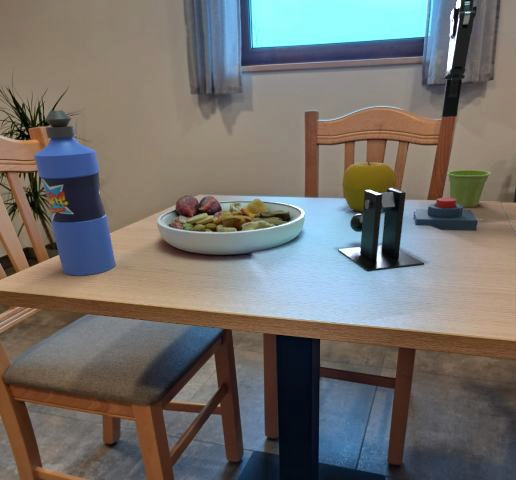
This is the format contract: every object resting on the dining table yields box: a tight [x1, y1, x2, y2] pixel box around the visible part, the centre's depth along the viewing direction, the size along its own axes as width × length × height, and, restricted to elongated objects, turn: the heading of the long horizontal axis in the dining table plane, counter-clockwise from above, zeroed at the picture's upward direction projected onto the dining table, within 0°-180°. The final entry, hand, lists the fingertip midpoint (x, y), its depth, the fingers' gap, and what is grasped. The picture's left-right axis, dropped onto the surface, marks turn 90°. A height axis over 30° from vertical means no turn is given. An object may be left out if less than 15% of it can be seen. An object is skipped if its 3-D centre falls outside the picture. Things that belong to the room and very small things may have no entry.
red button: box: [435, 197, 457, 208], centre depth 99 cm, size 4×4×2 cm
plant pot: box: [447, 169, 491, 208], centre depth 111 cm, size 9×9×9 cm
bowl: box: [156, 194, 306, 256], centre depth 95 cm, size 30×30×8 cm
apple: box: [341, 161, 397, 213], centre depth 114 cm, size 13×13×11 cm
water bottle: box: [33, 110, 116, 277], centre depth 77 cm, size 9×9×25 cm
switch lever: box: [349, 192, 395, 233], centre depth 80 cm, size 13×3×3 cm
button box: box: [412, 202, 478, 232], centre depth 100 cm, size 12×10×4 cm
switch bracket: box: [337, 188, 425, 272], centre depth 77 cm, size 12×10×12 cm
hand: (449, 116), depth 93 cm, fingers closed
